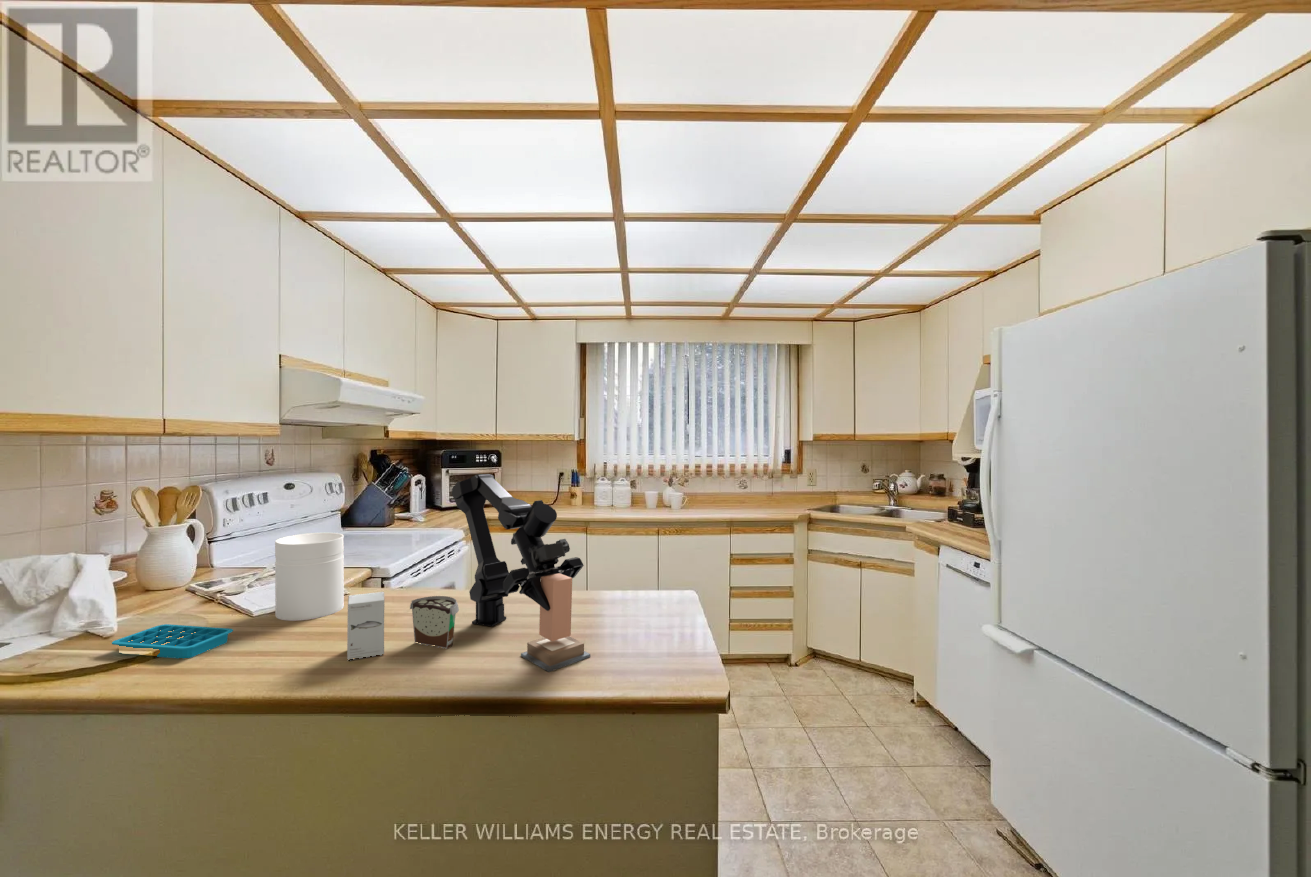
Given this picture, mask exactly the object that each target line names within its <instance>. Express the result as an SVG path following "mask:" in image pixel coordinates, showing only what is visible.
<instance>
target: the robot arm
mask: <svg viewBox="0 0 1311 877" xmlns="http://www.w3.org/2000/svg"><path fill="white" fill-rule="evenodd" d="M451 495H452V498H453V499H454V502H455V505H456V507H457V508H458V509H459V510H460V511H461V512H463V514H464V515H465V518H466V522H467V525H468V526H467V527H468V530H469V534H470V538H471V542H472V545H473V550H474V554H475V556H476V562H477V568H476V571H475V573H474V581H475V582H474V583H473V585H472V586H471V588H470V590H469V598H470V600H471V601H473V602H475V619H474V620H472V621H471V624H473V625H479V626H480V625H481V626H484V627H485V626H487V627H494V626H496V625H498V624H499V623H502V622H503V621H505V620H506V619H507V616H505V603H504V598H507V597H509V595H510V594H513V593H517V592H519V593H518V594H520V595H524V596H526V597H528V598H529V599H531V600H532V601H534V602H535V603H536V604H538V605H539V607H540V606H541V607H543V608H544V609H545V610H547V611H549V610H550V605H549V602H548V600H547V598H546V595H545V593H544V591H543V589H542V587H541V577H543V576H548V575H553V574H558V573H560V574H563V575H566V576H568V577H571V578H572V579H574V578H576V576H577V575H578V574H579V573H580V572H581V569H582V568H583V567H584V566H585V565H584V563H583V560H582V559H581V557H578V556H576V557H571V558H565V559H564V560H563V562H562V563H561V564H560V565H559V566H555V565H557V564H558V562H559V558H562V557H566V554H567V553H569V552H570V550H571V548H570V544H569V542H568V541H567V539H566V538H561V539H559V540H557V541H555V543H549V544H548V543H544V541H543V539H542V537H545V535H547V533H548V532H549V530H550V529H551V527H552V526H553V524H554V523H555V521H556V520H557V518H558V513H557V511H556V509H554V508H553V507H552V506H550V505H549V504H547V503H544V502H543V500H542V499H540V500H534V501H533V503H532V505H531V504H529V502H526V501H525V500H522V499H519V498H516V497H513V496H512V495H511V494H510V493H509V492H508V491H507V490H506V489H505V488H504V487H503V485H501V483H499V482H498V481H497V480H496V479H495V476H494V475H493V474H490V473H483V474H475V475H472V477H470V478H466V479H464V480H461V481H457V482H456V483H455V485H453V486H452V489H451ZM486 501H487V502H488V503H490V505H491V506H492V507H493V508H494V509H495V510H496V511H497V513H498V514H497V515H498V516H497V520H498V521H499V522H500V524H501V525H502V527H503V528H504V529H505V530H515V529H517V530H516V531H515V532H513V533H512V538H511V540H510V544H511V545H516V547H517V548H518V551H519V552H520V555H521V557H522V558H521V559H520V563H521V565H525V566H526V567H521V568H517V569H515V568H514V569H510V571H509V568H508V564H507V562H506V561H505V560H503V561H501V560H500V559H499V558H498V557H497V554H496V550H495V545H494V543H493V539H492V535H491V532H490V528H489V524H488V521H487V516H486V513H485V509H484V507H485V504H486ZM519 589H520V590H519Z"/></svg>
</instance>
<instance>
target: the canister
mask: <svg viewBox="0 0 1311 877" xmlns="http://www.w3.org/2000/svg"><path fill="white" fill-rule="evenodd" d="M344 545H345V544H344V534H342V533H340V532H307V533H299V534H294V535H287V536H284V537H280V538H278V539H275V541H274V556H275V557H274V558H275V562H274V566H275V567H274V568H275V569H274V571H275V572H274V579H275V582H274V584H275V586H274V588H275V589H274V591H275V593H274V594H275V598H274V599H275V600H274V601H275V606H274V607H275V608H274V609H275V610H274V612H275V615H274V616H275V618H276V619H278V620H282V621H290V622H295V621H307V620H315V619H318V618H319V619H320V618H323V617H328V616H330V615H333V614H335V613H338V612H340V611H341V610H343V608H344V607H345V604H344V602H345V593H344V592H345V589H344V588H345V586H344V585H345V584H344V583H345V579H344V577H345V573H344V572H345V563H344V562H345V558H344V551H345V550H344V549H345V548H344Z"/></svg>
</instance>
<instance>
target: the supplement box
mask: <svg viewBox="0 0 1311 877" xmlns="http://www.w3.org/2000/svg"><path fill="white" fill-rule="evenodd" d="M346 638H347V641H346V642H347V643H346V644H347V646H346V647H347V648H346V649H347V650H346V652H347V654H346V657H347V659H348V660H349V659H353V658H359V659H364V658H363V657H366V658H370V656H372V657H377V656H376V655H380V656H383V655H382V654H385V592H384V591H377V592H370V593H369V592H368V593H358V594H351V595H348V598H347V637H346ZM348 660H347V661H348ZM353 660H354V659H353Z"/></svg>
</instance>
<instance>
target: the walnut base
mask: <svg viewBox="0 0 1311 877" xmlns="http://www.w3.org/2000/svg"><path fill="white" fill-rule="evenodd" d="M526 644H527V645H526V646H527V647H526V648H527V649H526V650H527V651H524V652H521V653H520V657H522V658H524V659H525V660H527V661H528V662H530V663H532V664H534V665H536V666H538V667H539V668H541V669H543V670H544V671H547V672H548V673H550V672H552V671H555V670H559V669H561V668H564V667H567V666H569V665H571V664H575V663H578V662H580V661H583V660H585V659H588V658H590V657H591V653H589V652H587V651H586V650H585V642H583V641H580V640H578V639H576V638H574V637H572V636H568V637H565V638H561V639H558V640H555V641H550V640H548V639H546V638H545V637H542V638H538V639H535V640H532V641H528V642H527V643H526Z"/></svg>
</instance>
